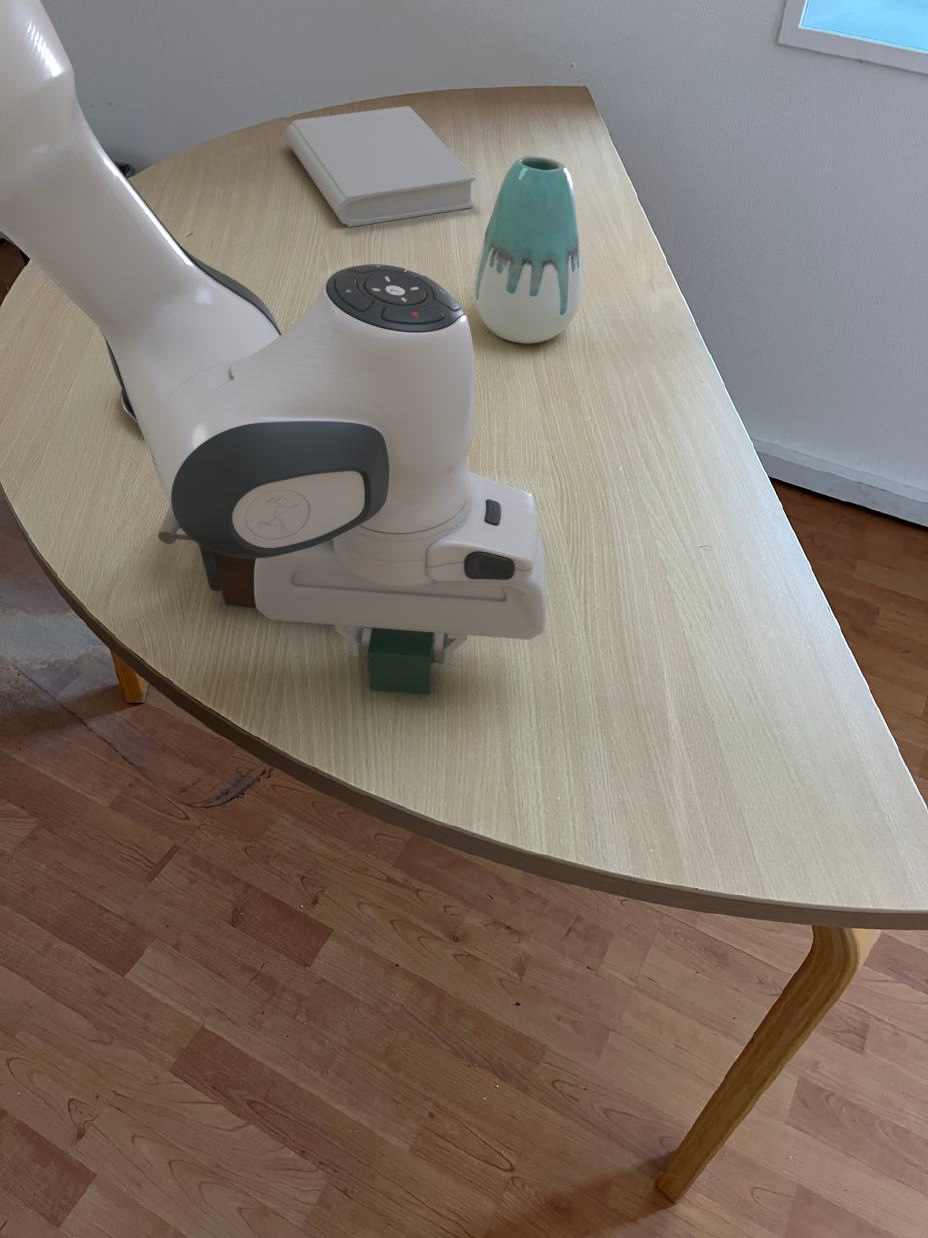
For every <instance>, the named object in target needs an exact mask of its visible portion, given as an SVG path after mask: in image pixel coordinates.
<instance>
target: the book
mask: <svg viewBox="0 0 928 1238" xmlns="http://www.w3.org/2000/svg"><path fill="white" fill-rule="evenodd" d="M285 139H286V141H287V143H288V145H289V147H290V148H291V149H292V151H293V153H294V154H295V155H296V158H298V160H299V161H300V163H301V164H302V166H303V167H304V169H305V171H306V172H307V173H308V175H309V176H310V178H311V179H312V180H313V182H314V185H316V187H317V189H318V190H319V191H320V193H321V194H322V195H323V197H324V199H325V200H326V201H327V203H328V205H329V206H330V208H331V209H332V211H333V212H334V213H335V215H336V216H337V218H338V219H339V221H340V222H341V224H343V225H346V226H347V228H352V227H360V226H365V225H371V224H378V223H384V222H385V223H386V222H392V221H397V220H404V219H409V218H415V217H424V216H428V215H435V214H441V213H447V212H454V211H458V210H467V209H472V208H475V203H474V202H473V201H472V200H471V194H472V193H471V192H472V182H476V177H475V176H474V175H473V174H472V173H471V171H469V169H468V168H467V167H466V166H465V165H464V164H463V163H462V162H461V161H460V160H459V158H457V156H456V155H455V154H454V153H453V152H452V151H451V150H450V149H449V148H448V147H447V145H445V143H444V142H443V141H442V140H441V139H440V138H439V137H438V136H437V134H435V132H434V131H433V130H432V129H431V128H430V126H428V125H427V124H426V123H425V121H424V120H423V119H422V118H421V117H420V116H419V115H418V114H417V112H416V111H414V109H412V107H411V106H410V105H406V106H398V107H390V108H382V109H373V110H366V111H357V112H350V113H342V114H334V115H325V116H319V117H318V116H317V117H310V118H309V117H308V118H302V119H295V120H292V121H291V123H290V124H288V125H287V127H286V131H285Z"/></svg>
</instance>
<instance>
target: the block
mask: <svg viewBox="0 0 928 1238" xmlns="http://www.w3.org/2000/svg"><path fill="white" fill-rule="evenodd" d="M433 639H434V632H422V631H409V630H396V629H383V628H372V631H371V636H370V642H369V648H368V658H367V662H368V677H369V690H370V691H378V692H379V691H381V692H393V693H408V694H419V695H431V689H432V680H433V673H434V664H435V663H432V647H433Z"/></svg>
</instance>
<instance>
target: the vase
mask: <svg viewBox="0 0 928 1238" xmlns="http://www.w3.org/2000/svg"><path fill="white" fill-rule="evenodd" d="M579 235H580V234H579V229H578V222H577V208H576V197H575V190H574V183H573V180H572V177H571V174H570V172H569V170H568V168H567V167H566V166H565V164H564V163H562V162H561V161H558V160H556V159H552V158H550V157H549V158H548V157H544V156H536V155H526V156H522V157H519V158H518V159H516V160H515V161H514V163H513V164H512V165H511V166H510V168H509V169H508V171H507V172H506V175H505V176H504V178H503V180H502V183H501V185H500V188H499V190H498V193H497V196H496V198H495V203H494V206H493V209H492V213H491V216H490V218H489V221H488V223H487V226H486V229H485V232H484V236H483V239H482V242H481V243H482V244H481V247H480V251H479V254H478V256H477V261H476V265H475V269H474V274H473V275H474V276H473V283H472V284H473V285H472V289H473V300H474V305H475V308H476V311H477V314H478V315H479V317H480V319H481V321H482V322H483V324H484V325H485V326H486V328H488V330H489V331H491V332H492V333H493V334H494V335H496V336H497V337H499V338H501V339H503V340H506V341H509V342H512V343H517V344H539V343H542V342H545V341H549V340H551V339H553V338H556V337H557V336H558V335H560V334H561V333H562V332H563V331H564V330H566V329H567V328H568V326H569V325H570V324H571V323H572V321H574V320H573V319H574V318H575V317H576V315H577V312H578V310H579V307H580V304H581V300H582V297H583V296H582V295H583V287H584V286H583V282H584V281H583V280H584V276H583V274H584V273H583V272H584V271H583V259H582V252H581V248H580V236H579Z"/></svg>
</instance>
